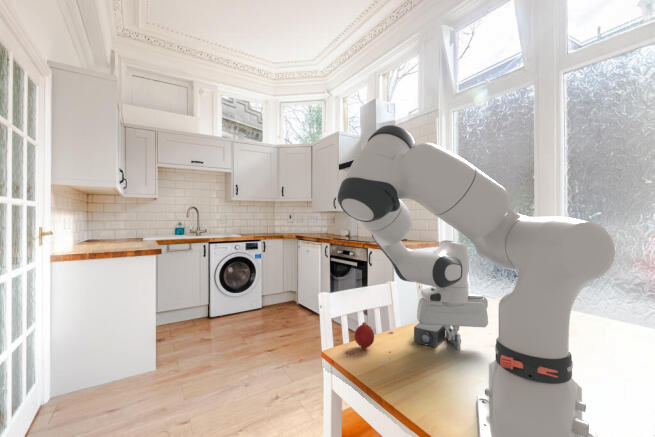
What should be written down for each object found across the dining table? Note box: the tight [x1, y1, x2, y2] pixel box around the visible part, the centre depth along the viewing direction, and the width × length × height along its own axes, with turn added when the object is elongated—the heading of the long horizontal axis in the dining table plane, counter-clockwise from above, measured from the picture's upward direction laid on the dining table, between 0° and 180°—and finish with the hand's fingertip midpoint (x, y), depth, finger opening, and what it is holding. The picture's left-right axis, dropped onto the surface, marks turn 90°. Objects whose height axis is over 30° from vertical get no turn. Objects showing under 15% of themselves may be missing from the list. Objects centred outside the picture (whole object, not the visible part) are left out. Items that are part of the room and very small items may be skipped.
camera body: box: [413, 322, 447, 348], centre depth 94 cm, size 12×7×5 cm, turn 144°
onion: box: [354, 321, 375, 350], centre depth 87 cm, size 6×6×8 cm
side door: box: [445, 326, 462, 350], centre depth 91 cm, size 10×1×4 cm, turn 178°
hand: (451, 339), depth 89 cm, fingers closed
